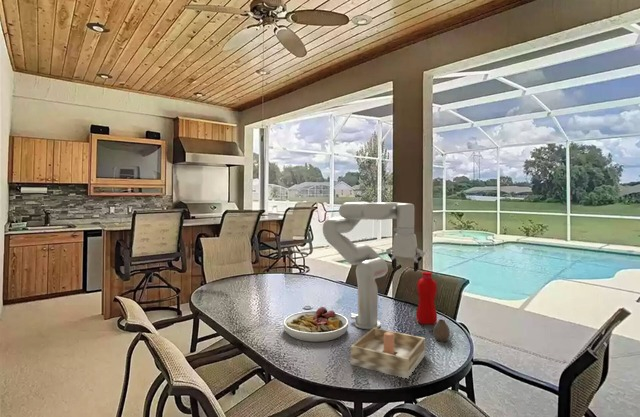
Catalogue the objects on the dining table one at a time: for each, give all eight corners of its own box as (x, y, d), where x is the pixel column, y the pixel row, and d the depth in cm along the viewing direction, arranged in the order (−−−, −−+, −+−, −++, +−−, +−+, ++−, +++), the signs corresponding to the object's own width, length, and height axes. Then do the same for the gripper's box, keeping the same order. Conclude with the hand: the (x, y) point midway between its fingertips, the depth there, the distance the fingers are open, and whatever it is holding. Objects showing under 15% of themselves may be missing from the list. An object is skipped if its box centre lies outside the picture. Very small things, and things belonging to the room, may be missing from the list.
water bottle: (433, 317, 192) (434, 269, 191) (437, 325, 182) (438, 274, 180) (415, 317, 193) (415, 269, 192) (418, 324, 182) (419, 273, 181)
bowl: (342, 347, 157) (342, 329, 157) (274, 341, 164) (274, 323, 163) (352, 322, 186) (352, 307, 186) (294, 318, 193) (294, 303, 192)
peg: (382, 360, 144) (382, 334, 144) (385, 356, 148) (386, 331, 147) (392, 362, 142) (392, 337, 142) (395, 358, 146) (395, 333, 145)
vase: (446, 336, 168) (446, 317, 167) (452, 343, 161) (452, 322, 160) (430, 336, 168) (431, 317, 167) (436, 343, 161) (436, 323, 160)
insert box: (350, 364, 141) (350, 346, 141) (373, 343, 160) (373, 327, 160) (407, 379, 130) (408, 359, 130) (425, 355, 149) (425, 337, 149)
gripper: (383, 230, 166) (383, 269, 167) (422, 233, 157) (422, 273, 158) (389, 229, 173) (389, 266, 174) (427, 231, 164) (426, 270, 165)
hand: (404, 269), depth 166 cm, fingers open, 9 cm apart
